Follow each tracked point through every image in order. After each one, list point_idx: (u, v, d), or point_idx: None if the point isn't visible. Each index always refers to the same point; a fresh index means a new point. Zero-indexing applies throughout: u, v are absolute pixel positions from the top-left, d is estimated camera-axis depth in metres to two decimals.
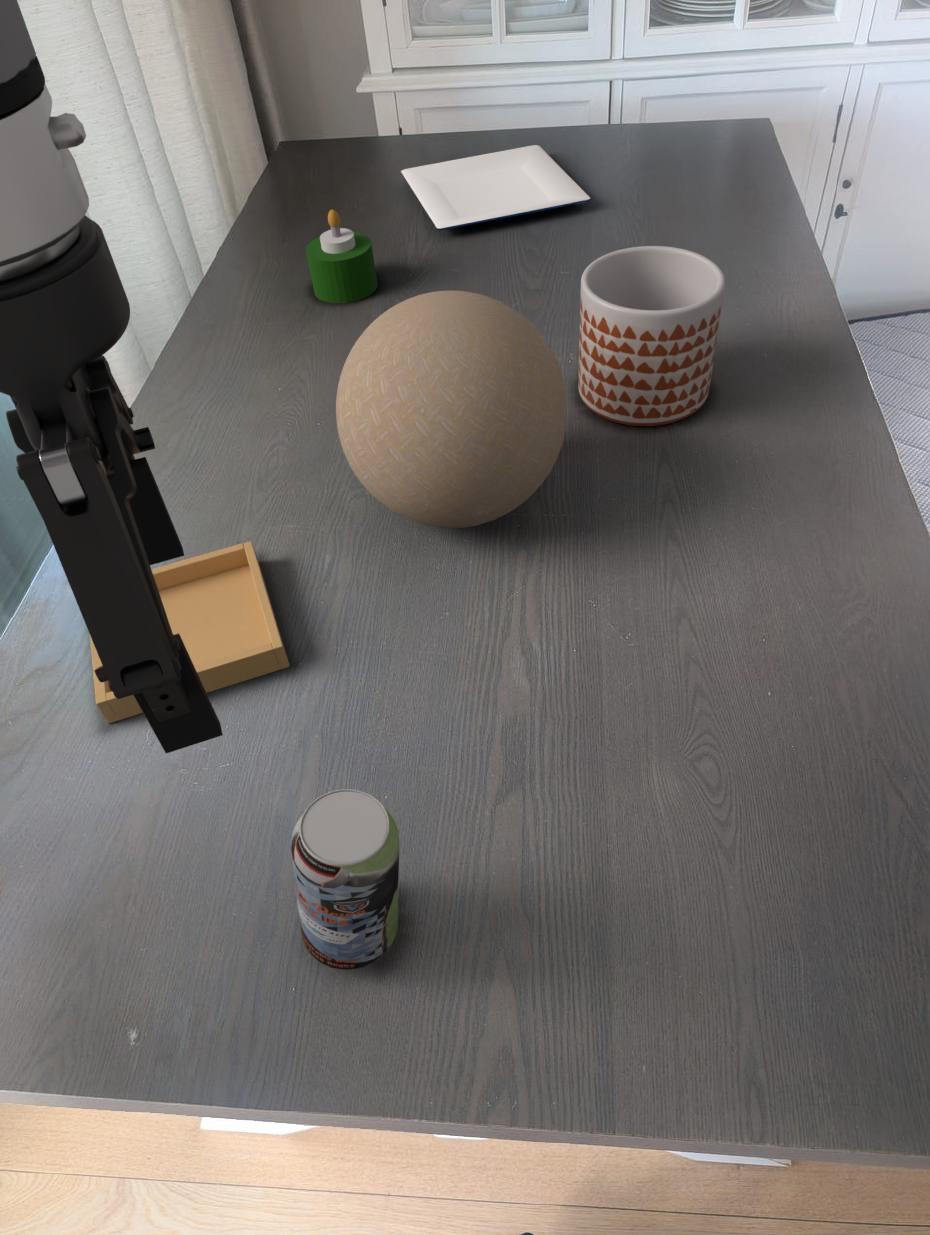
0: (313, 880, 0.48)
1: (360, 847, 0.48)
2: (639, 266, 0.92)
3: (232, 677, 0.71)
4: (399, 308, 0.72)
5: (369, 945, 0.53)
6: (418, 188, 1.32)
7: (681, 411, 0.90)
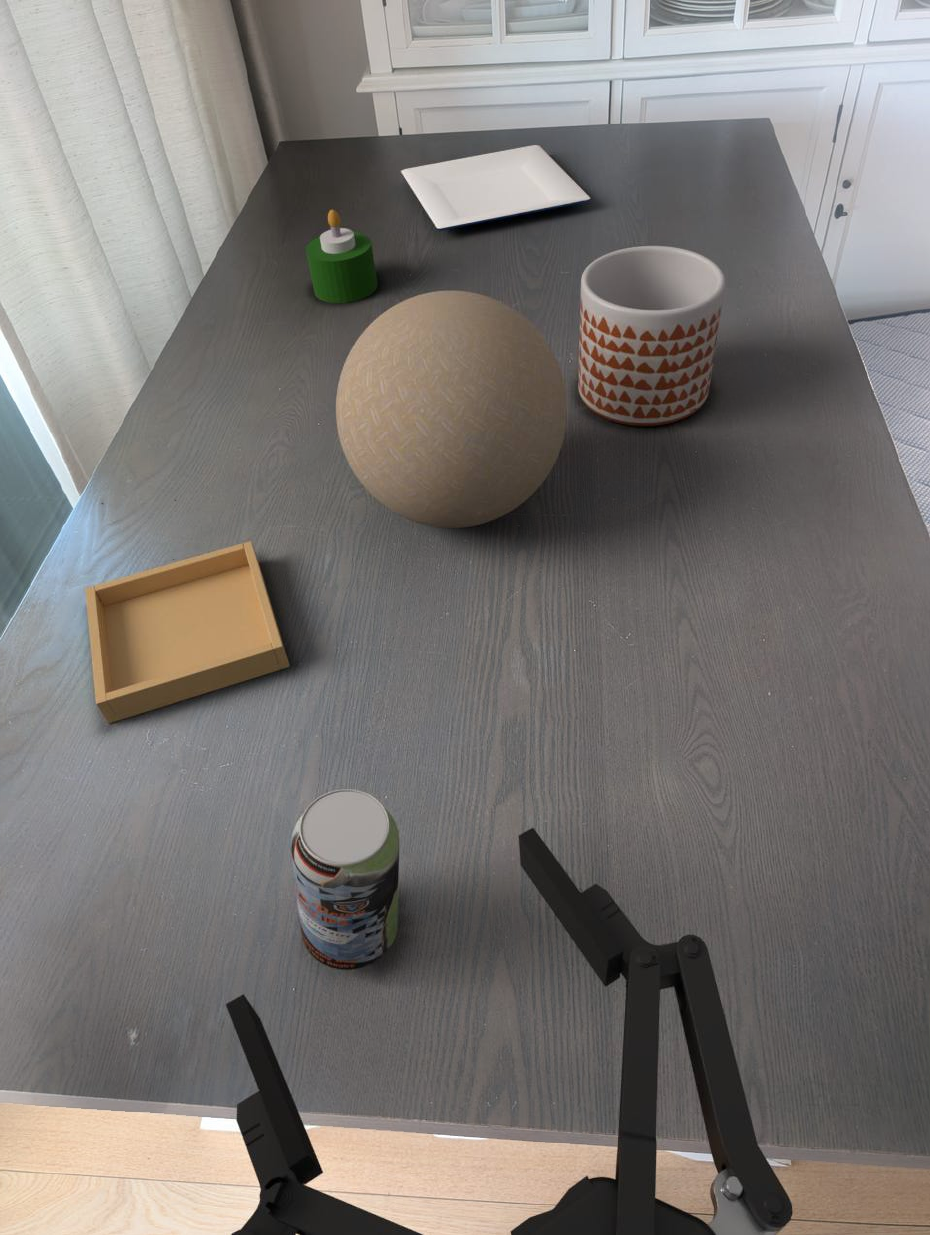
0: (313, 880, 0.48)
1: (360, 847, 0.48)
2: (639, 266, 0.92)
3: (232, 677, 0.71)
4: (399, 308, 0.72)
5: (369, 945, 0.53)
6: (418, 188, 1.32)
7: (681, 411, 0.90)
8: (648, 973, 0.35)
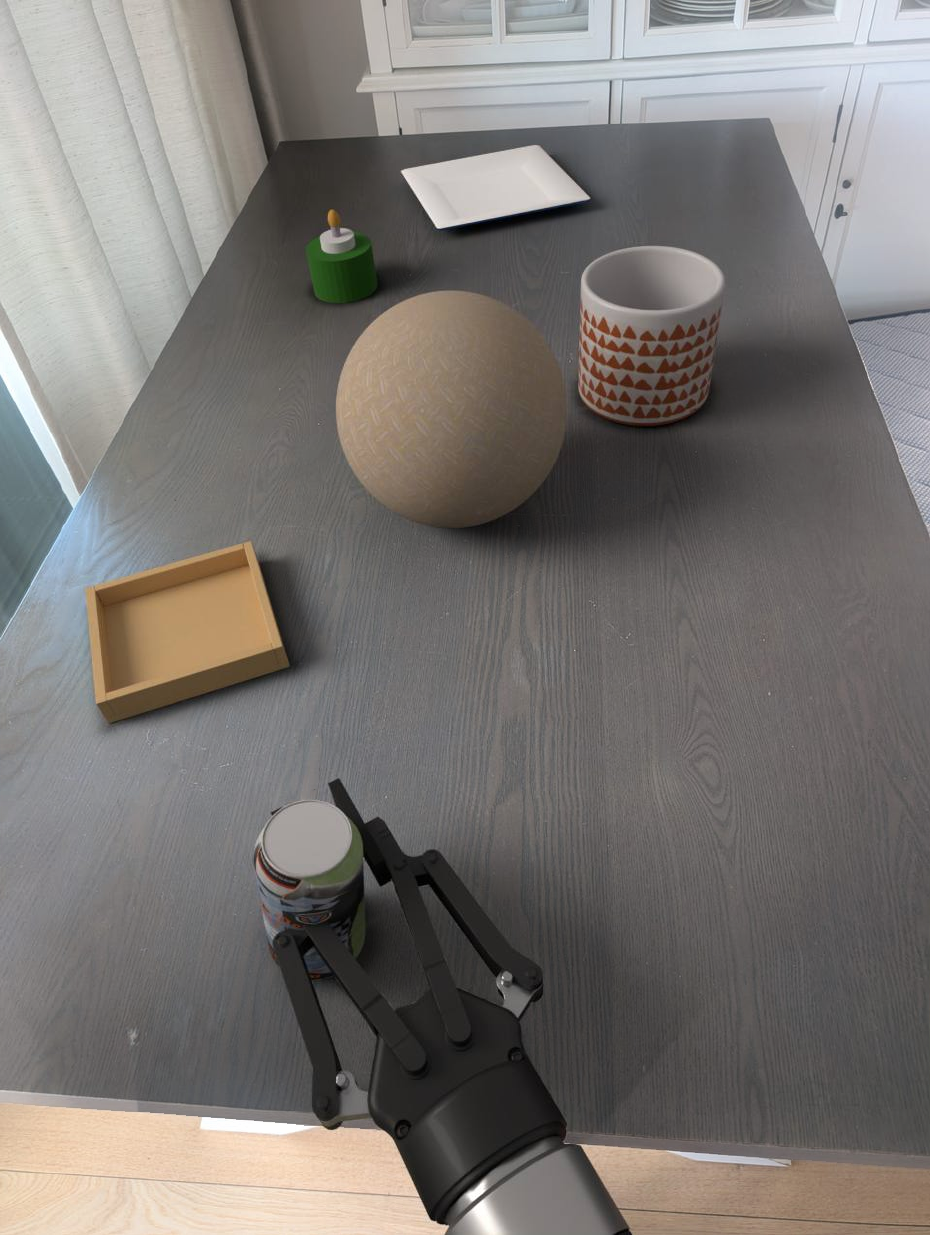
0: (274, 891, 0.48)
1: (321, 859, 0.48)
2: (639, 266, 0.92)
3: (232, 677, 0.71)
4: (399, 308, 0.72)
5: None
6: (418, 188, 1.32)
7: (681, 411, 0.90)
8: (404, 872, 0.51)
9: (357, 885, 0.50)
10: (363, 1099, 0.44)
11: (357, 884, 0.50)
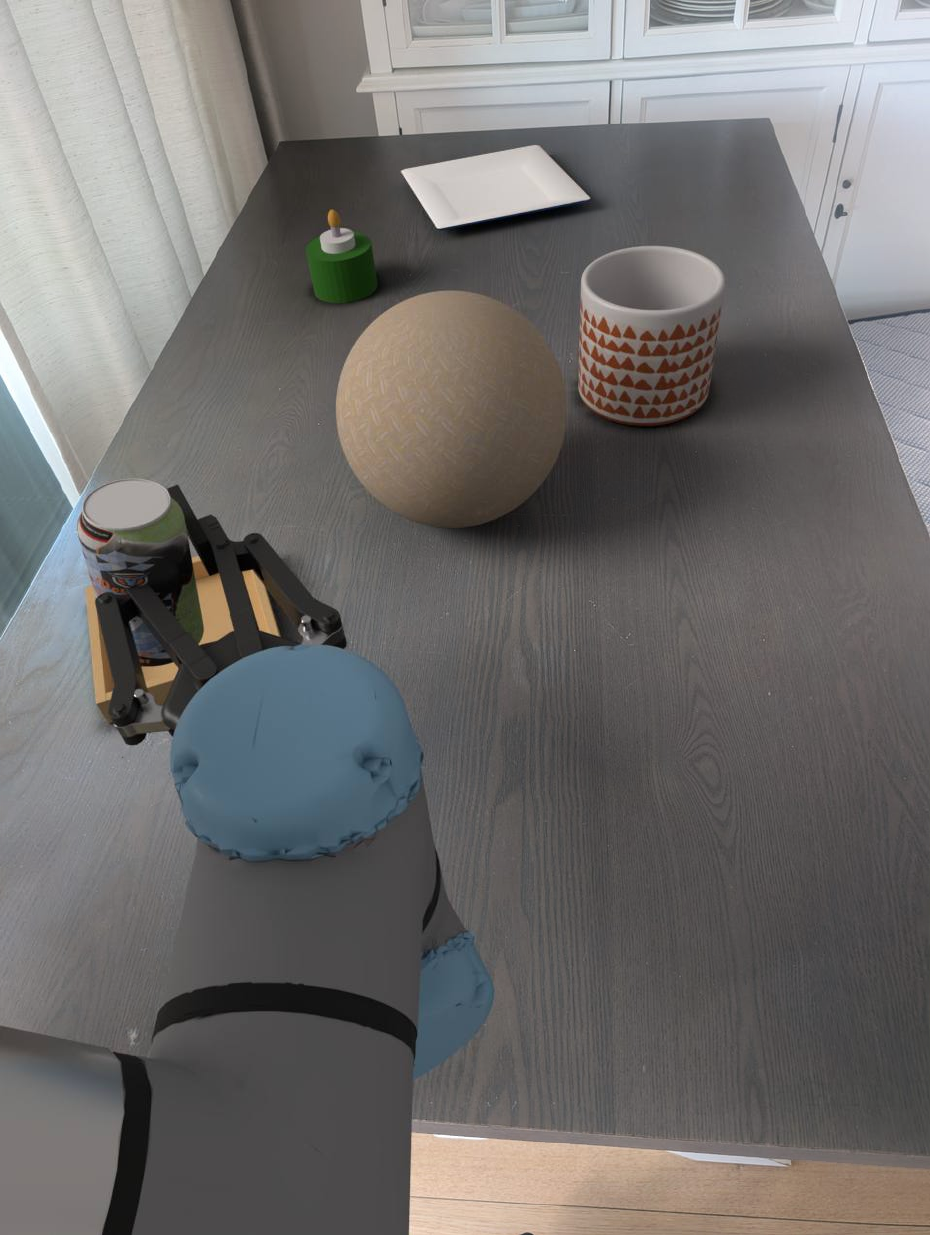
0: (89, 546, 0.51)
1: (135, 519, 0.51)
2: (639, 266, 0.92)
3: None
4: (399, 308, 0.72)
5: None
6: (418, 188, 1.32)
7: (681, 411, 0.90)
8: (225, 549, 0.54)
9: (176, 558, 0.53)
10: (158, 710, 0.47)
11: (175, 557, 0.53)
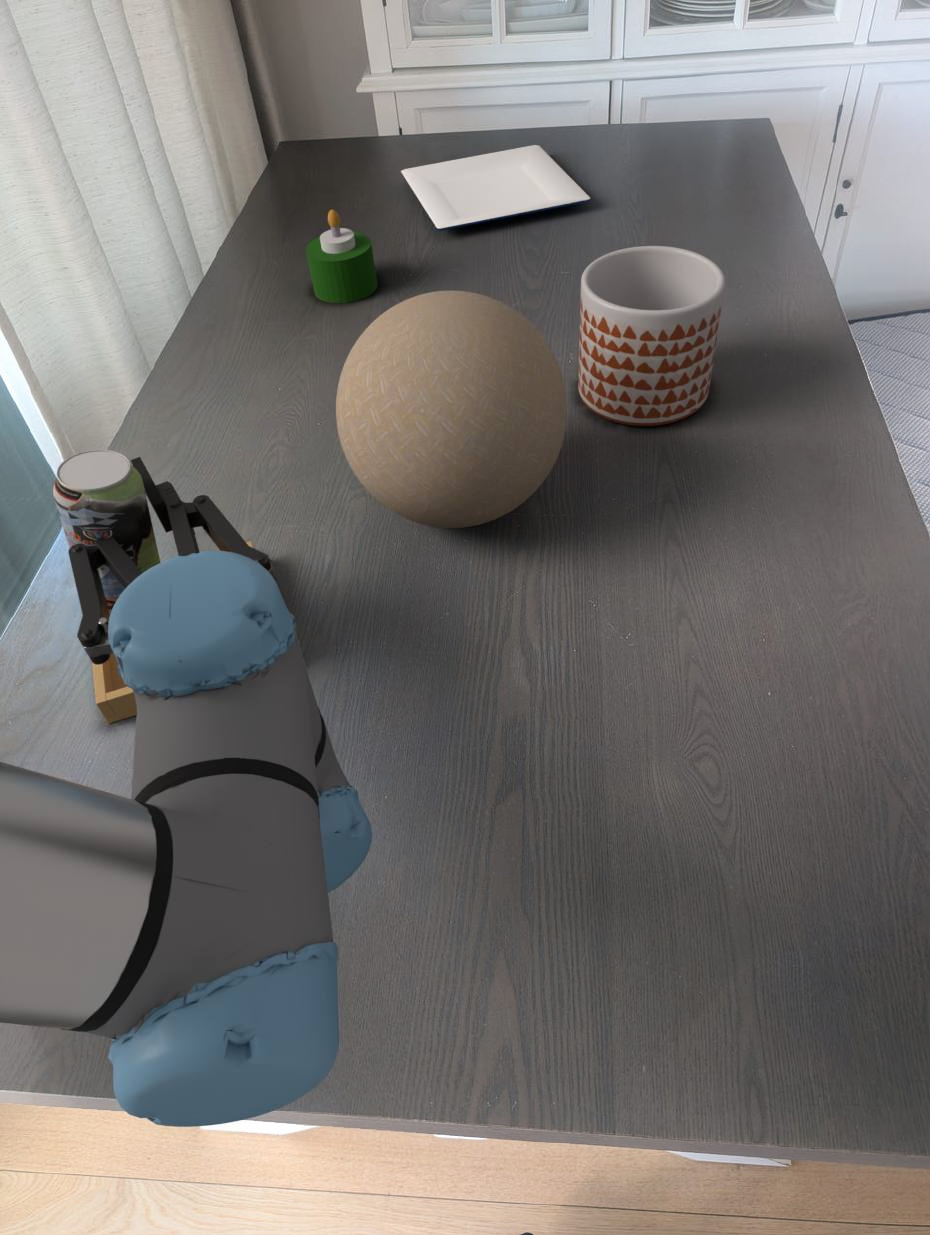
0: (63, 505, 0.62)
1: (100, 482, 0.62)
2: (639, 266, 0.92)
3: None
4: (399, 308, 0.72)
5: None
6: (418, 188, 1.32)
7: (681, 411, 0.90)
8: (177, 508, 0.65)
9: (136, 515, 0.64)
10: None
11: (135, 514, 0.64)
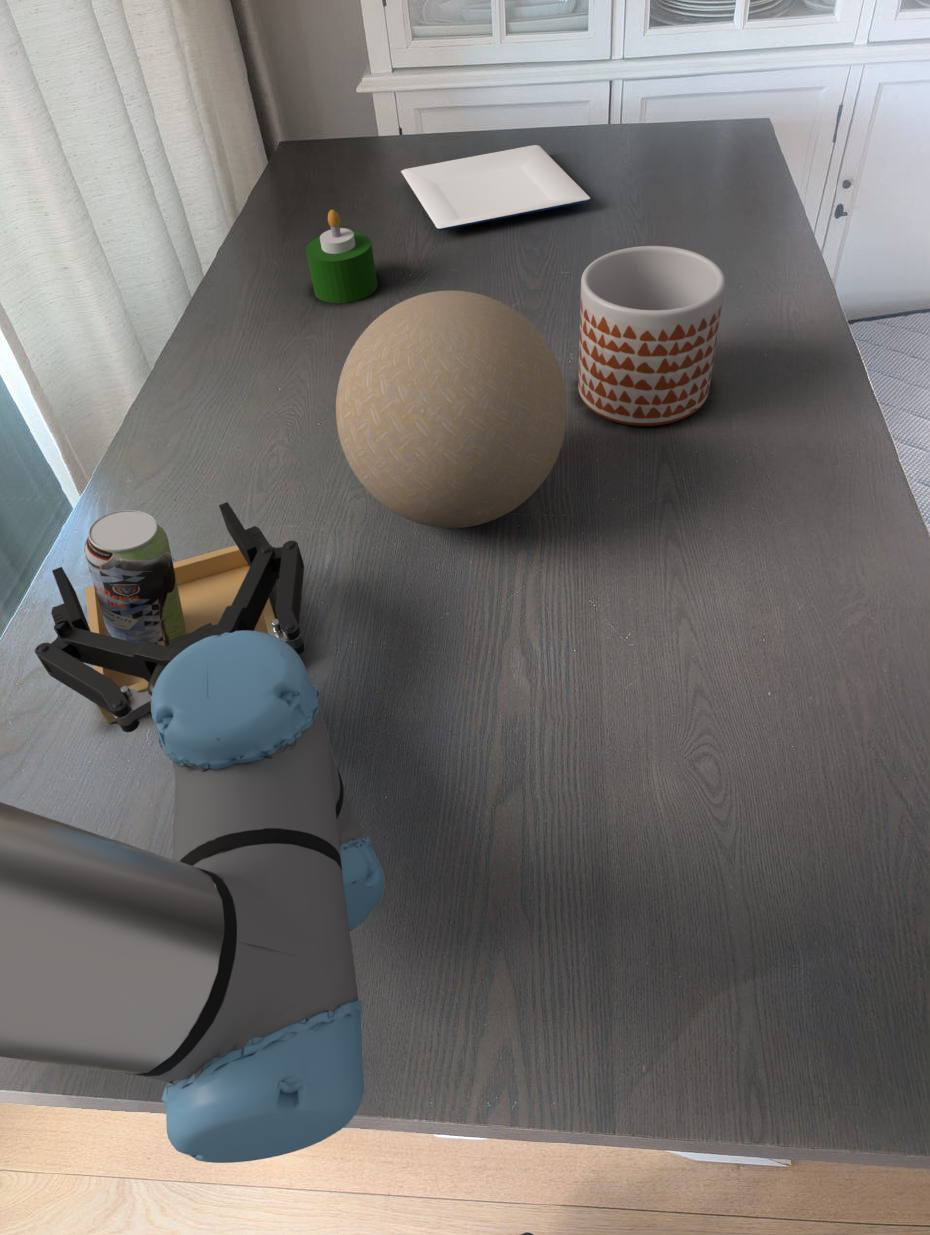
0: (94, 564, 0.66)
1: (130, 542, 0.66)
2: (639, 266, 0.92)
3: None
4: (399, 308, 0.72)
5: (150, 634, 0.70)
6: (418, 188, 1.32)
7: (681, 411, 0.90)
8: (265, 554, 0.69)
9: (162, 572, 0.68)
10: (146, 694, 0.61)
11: (161, 571, 0.68)
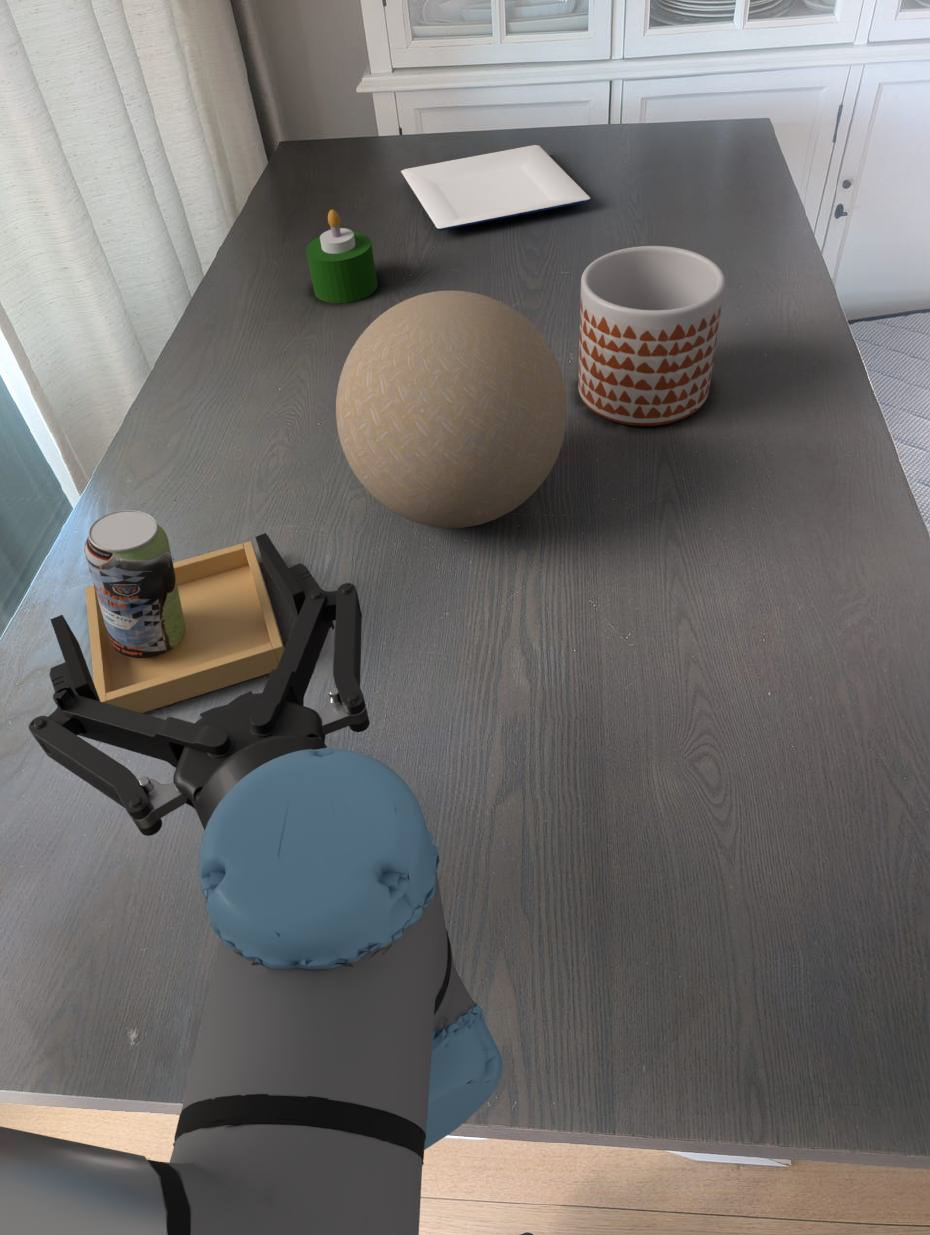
0: (94, 564, 0.66)
1: (130, 542, 0.66)
2: (639, 266, 0.92)
3: (232, 677, 0.71)
4: (399, 308, 0.72)
5: (150, 634, 0.70)
6: (418, 188, 1.32)
7: (681, 411, 0.90)
8: (316, 601, 0.55)
9: (162, 572, 0.68)
10: (171, 788, 0.47)
11: (161, 571, 0.68)
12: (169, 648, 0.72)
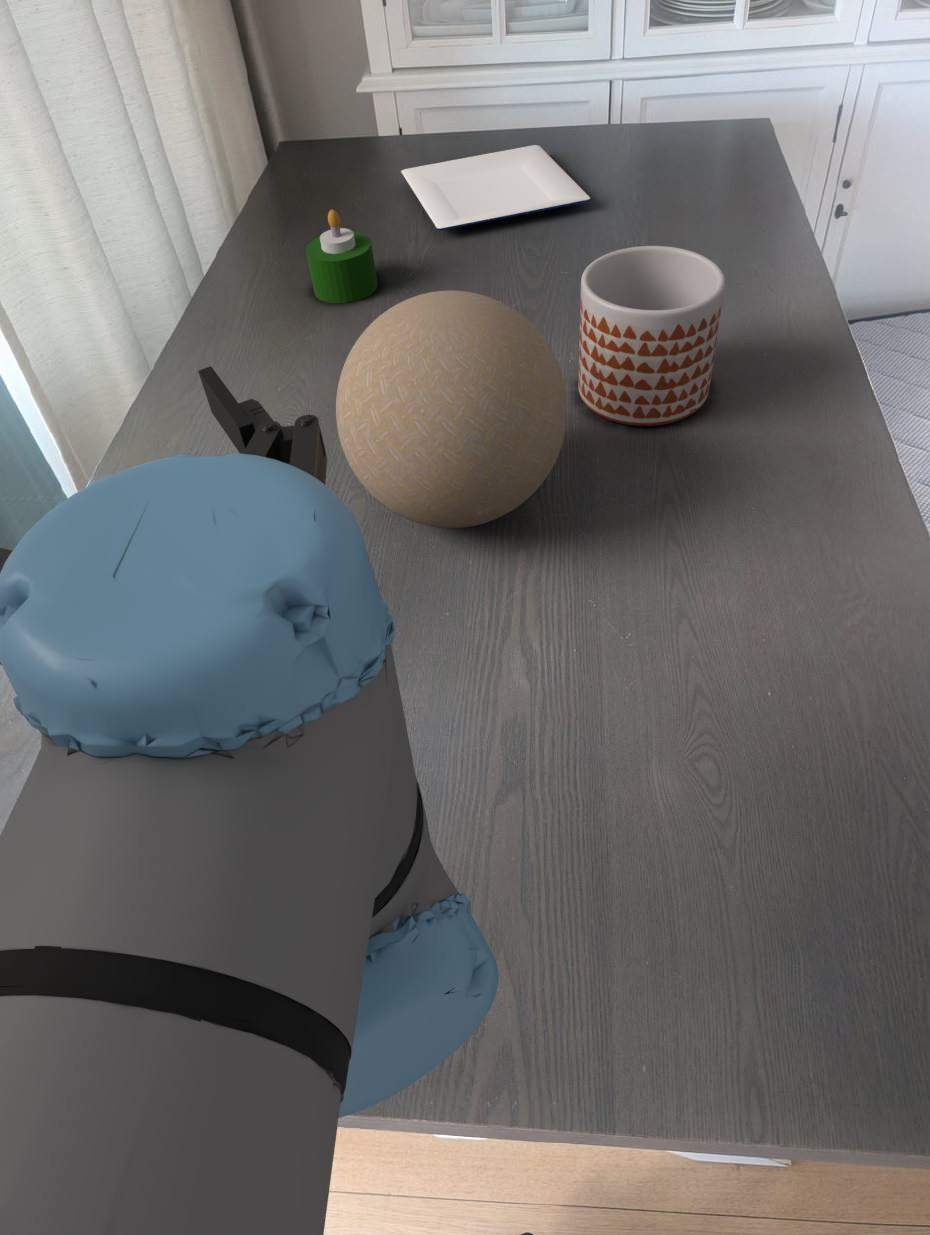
0: None
1: None
2: (639, 266, 0.92)
3: None
4: (399, 308, 0.72)
5: None
6: (418, 188, 1.32)
7: (681, 411, 0.90)
8: (268, 434, 0.44)
9: None
10: None
11: None
12: None
